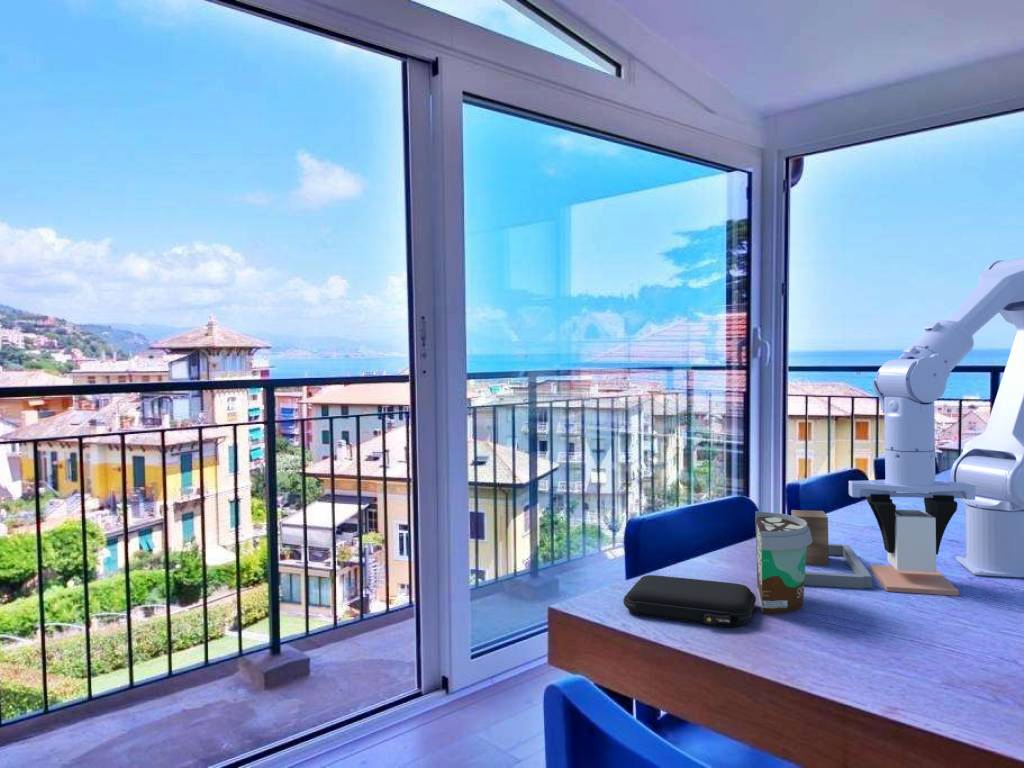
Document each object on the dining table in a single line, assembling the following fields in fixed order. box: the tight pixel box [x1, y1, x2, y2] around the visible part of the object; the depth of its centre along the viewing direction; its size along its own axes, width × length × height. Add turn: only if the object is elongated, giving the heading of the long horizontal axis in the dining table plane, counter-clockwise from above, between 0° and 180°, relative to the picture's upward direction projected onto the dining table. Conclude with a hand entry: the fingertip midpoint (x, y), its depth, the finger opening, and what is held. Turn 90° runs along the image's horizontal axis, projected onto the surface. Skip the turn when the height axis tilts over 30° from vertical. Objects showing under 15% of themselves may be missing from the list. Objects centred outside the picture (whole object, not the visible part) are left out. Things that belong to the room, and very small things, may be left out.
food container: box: [754, 511, 813, 615], centre depth 84 cm, size 12×6×10 cm, turn 164°
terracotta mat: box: [869, 564, 960, 597], centre depth 91 cm, size 8×10×1 cm
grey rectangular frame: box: [804, 542, 873, 590], centre depth 98 cm, size 12×17×2 cm
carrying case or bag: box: [623, 574, 757, 628], centre depth 82 cm, size 11×3×15 cm
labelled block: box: [886, 509, 937, 572], centre depth 91 cm, size 4×4×7 cm
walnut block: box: [791, 509, 830, 566], centre depth 102 cm, size 4×4×7 cm
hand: (910, 551), depth 91 cm, fingers closed on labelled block, 4 cm apart
